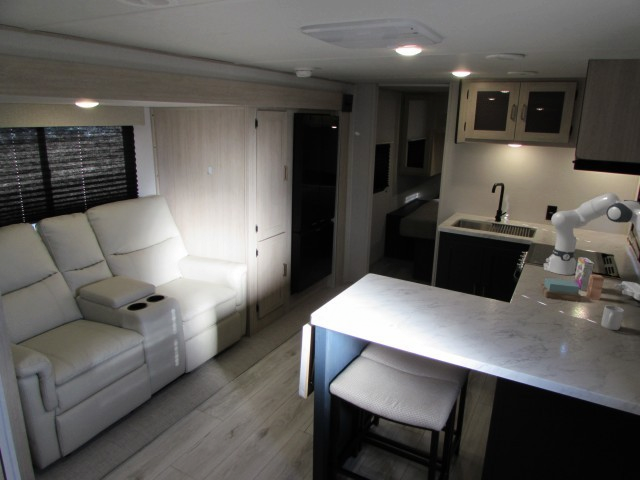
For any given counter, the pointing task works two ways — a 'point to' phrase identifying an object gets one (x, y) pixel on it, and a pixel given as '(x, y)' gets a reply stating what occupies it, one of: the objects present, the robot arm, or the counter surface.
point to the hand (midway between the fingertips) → (618, 288)
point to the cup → (612, 317)
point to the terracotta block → (595, 287)
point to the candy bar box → (583, 273)
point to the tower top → (561, 286)
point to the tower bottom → (560, 295)
